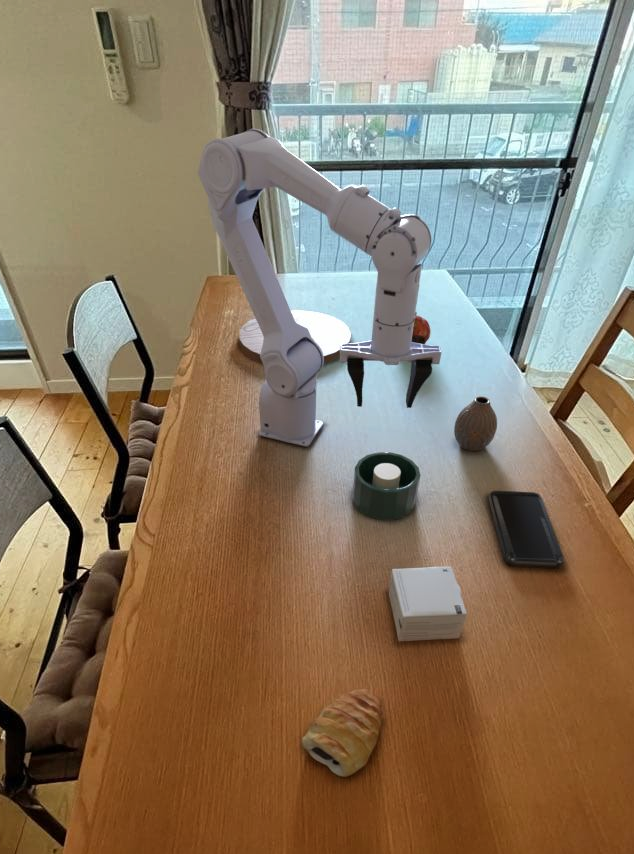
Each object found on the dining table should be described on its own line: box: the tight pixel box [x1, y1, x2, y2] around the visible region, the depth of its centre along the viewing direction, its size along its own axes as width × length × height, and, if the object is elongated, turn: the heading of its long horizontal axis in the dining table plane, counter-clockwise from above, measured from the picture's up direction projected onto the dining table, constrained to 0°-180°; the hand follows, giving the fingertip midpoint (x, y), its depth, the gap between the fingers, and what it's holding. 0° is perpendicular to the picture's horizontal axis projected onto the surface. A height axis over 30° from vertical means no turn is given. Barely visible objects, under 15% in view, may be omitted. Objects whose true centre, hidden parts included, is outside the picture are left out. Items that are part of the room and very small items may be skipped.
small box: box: [388, 566, 468, 642], centre depth 68 cm, size 8×8×5 cm
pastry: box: [301, 688, 384, 778], centre depth 58 cm, size 9×7×4 cm
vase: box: [453, 396, 498, 452], centre depth 94 cm, size 7×7×9 cm
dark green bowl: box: [352, 451, 421, 521], centre depth 84 cm, size 10×10×6 cm
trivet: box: [238, 309, 352, 366], centre depth 124 cm, size 25×25×2 cm
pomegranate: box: [411, 311, 431, 345], centre depth 121 cm, size 7×7×10 cm
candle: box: [372, 463, 401, 489], centre depth 84 cm, size 4×4×5 cm
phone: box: [488, 490, 565, 569], centre depth 81 cm, size 8×1×15 cm
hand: (383, 403), depth 87 cm, fingers open, 7 cm apart
